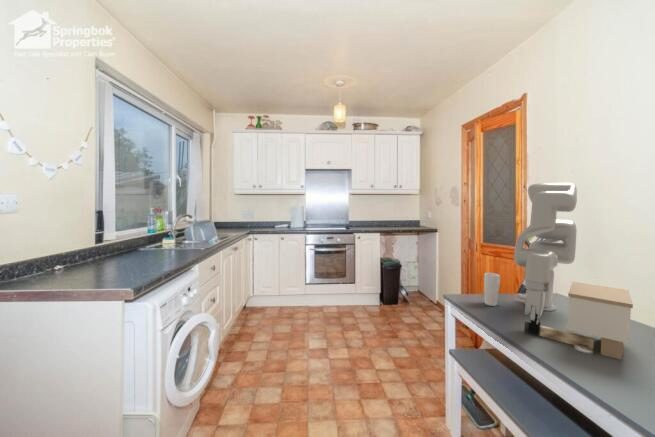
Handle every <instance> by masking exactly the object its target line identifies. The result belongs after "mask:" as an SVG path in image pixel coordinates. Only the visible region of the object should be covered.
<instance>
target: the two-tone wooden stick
mask: <svg viewBox="0 0 655 437" xmlns="http://www.w3.org/2000/svg"><path fill="white" fill-rule="evenodd" d="M528 329H529V321H524V329H523V332H524V333H526V334H531V335H535V336H538V337H541V336H542V337H541V338H545V337H546V339H550V340H554V341H557V342H560V343H564V342H565V344H568V345H572V346H574V344H583V345H587V346H589V347H591V348H593V349H594V341H595V338H594V337H591V336H587V335H583V334H578V333H574V332H569V331H566V330H562V329H557V328H553V327H549V326H545V325H542V324H540V325H539V334H538V335H536V334H533V333H529V332H528Z"/></svg>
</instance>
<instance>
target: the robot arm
mask: <svg viewBox="0 0 655 437" xmlns="http://www.w3.org/2000/svg"><path fill="white" fill-rule="evenodd" d="M527 188H528V189H527V195H528V197H529V198H528V199H529V200H530V202H531V213H530V223H529V226H527V227H526V228H524V229H523V230H522V231H521V232H520V233H519V234H518V236H517V238H516V240H515V245H514V253H513V254H514V255H513V261H514V263H515V265H517V266H518V267H524V268H525V280H524V288H525V289H527V290H526V291H527V292H526V294H523V293H518V294H517V298H519V299H520V300H523V301H524V302H523V305H525V307H524V315H525V316H527V315H529V321H528V322H529V329H528V332H529V333H528V334H530V333H533V334H532V335H534V334H536V335H535V336H537V335H538V334H539V325H541V316H542V315H543V312H544V311H545V312H546V311H547V312H551V311H556V310H557V306H556V305H555V304H553V296H554V295H553V294H554V280H555V272H554V269H555V268H556V267H558V264H562V265H563V264H565V265H570V264H573V263H574V261H575V258H576V248H577V231H578V230H577V225H576V223H575V221H573V220H570V219H558V218H557V213H558V212H565V213H569V212H573V211H574V210H575V209H576V206H577V201H578V196H577V194H578V190H577V186H576V185H575V184H574V183H571V182H541V183H534V184H531V185H529V186H528V187H527ZM533 237H535V238H538V239H542V241H541V240H539V241H538V240H537V241H533V242H530V244H529V246H528V248H525V247H524V244H525V242H526V241H528V240H529V239H530V238H533ZM543 240H553V241H543ZM554 240H555V241H554ZM556 241H561V242H556Z"/></svg>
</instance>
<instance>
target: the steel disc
mask: <svg viewBox="0 0 655 437" xmlns="http://www.w3.org/2000/svg"><path fill="white" fill-rule="evenodd" d="M573 349H574V350H575V349H576V350H575V351H577V350H578V351H577V352H579V351H580V352H579V353H581V352H582V353H581V354H585V353H586V355H592V354H594V347H593V348H591V347H589V346H587V345H583V344H574V345H573Z"/></svg>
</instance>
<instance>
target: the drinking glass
mask: <svg viewBox="0 0 655 437" xmlns="http://www.w3.org/2000/svg"><path fill="white" fill-rule="evenodd" d="M483 275H484V276H483V277H484V278H483V287H484V288H483V289H484V290H483V293H484V294H483V295H484V305H486V306H490V307H491V306H492V307H496V306H497V304H498V296H499V291H500V290H499V289H500V282H501V275H500V274H499V273H495V272H485V273H484V274H483Z"/></svg>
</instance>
